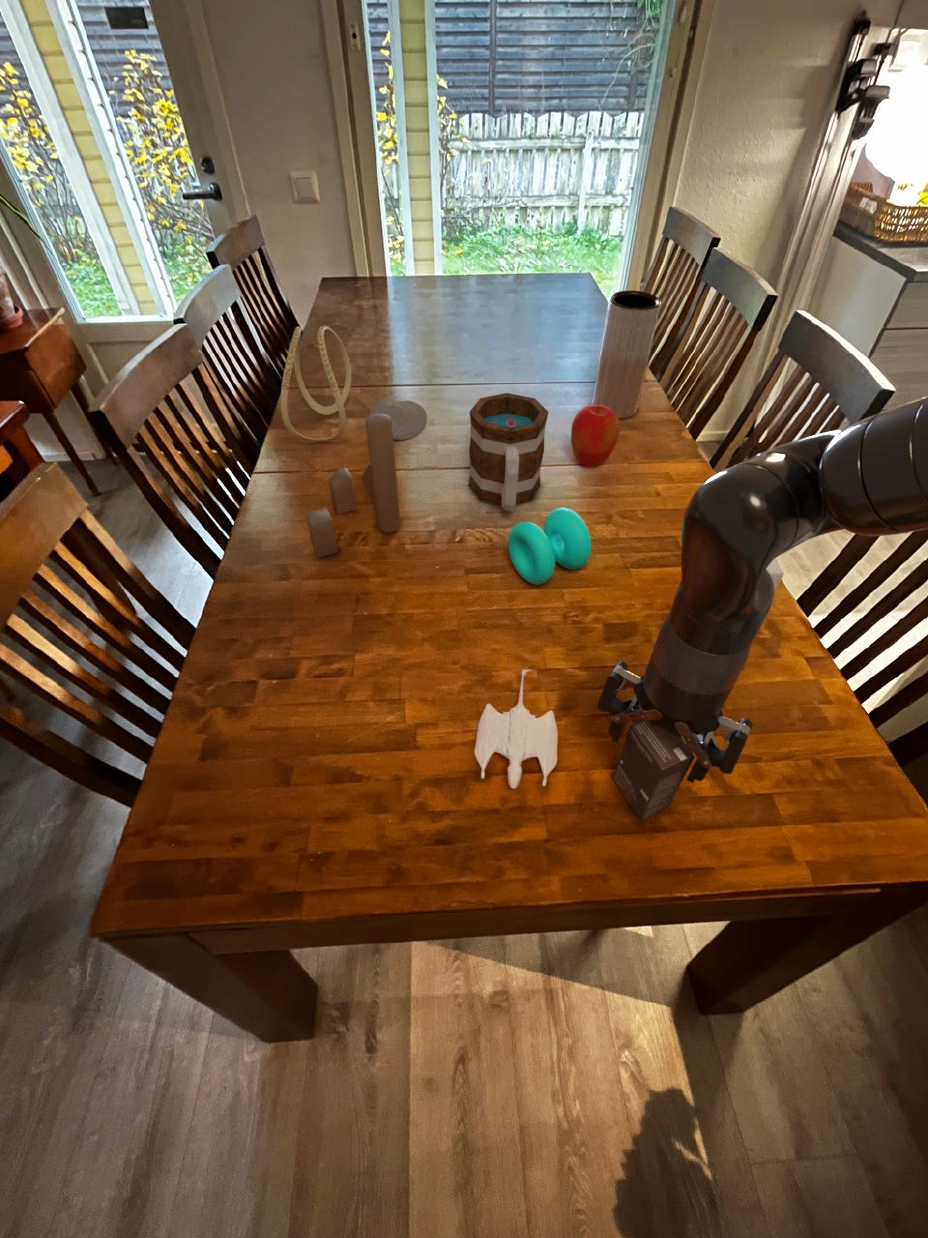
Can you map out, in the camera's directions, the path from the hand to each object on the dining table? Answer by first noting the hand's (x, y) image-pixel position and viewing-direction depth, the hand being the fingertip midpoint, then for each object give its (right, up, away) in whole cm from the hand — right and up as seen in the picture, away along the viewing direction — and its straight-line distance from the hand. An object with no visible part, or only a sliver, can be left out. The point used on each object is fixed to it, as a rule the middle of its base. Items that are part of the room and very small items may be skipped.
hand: (654, 755), depth 67 cm
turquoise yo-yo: (-7, +23, +34) cm, 41 cm away
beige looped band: (-50, +55, +65) cm, 98 cm away
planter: (+13, +61, +71) cm, 95 cm away
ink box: (+20, +16, +27) cm, 37 cm away
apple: (+4, +46, +56) cm, 72 cm away
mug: (-13, +37, +48) cm, 62 cm away
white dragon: (-14, 0, +12) cm, 18 cm away
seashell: (-34, +55, +64) cm, 91 cm away
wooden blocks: (-41, +33, +44) cm, 69 cm away
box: (0, -6, +6) cm, 9 cm away
